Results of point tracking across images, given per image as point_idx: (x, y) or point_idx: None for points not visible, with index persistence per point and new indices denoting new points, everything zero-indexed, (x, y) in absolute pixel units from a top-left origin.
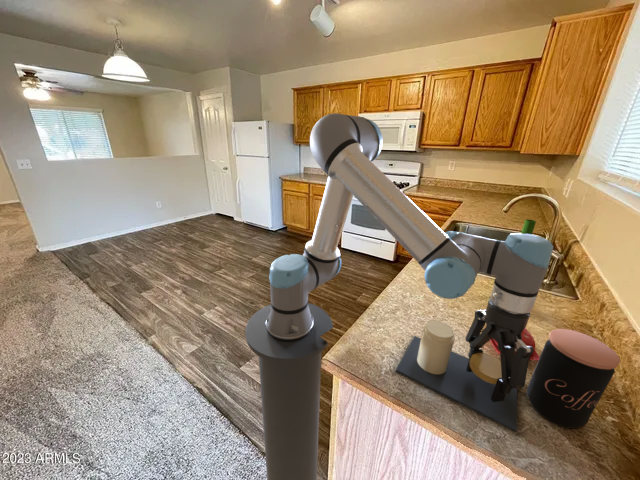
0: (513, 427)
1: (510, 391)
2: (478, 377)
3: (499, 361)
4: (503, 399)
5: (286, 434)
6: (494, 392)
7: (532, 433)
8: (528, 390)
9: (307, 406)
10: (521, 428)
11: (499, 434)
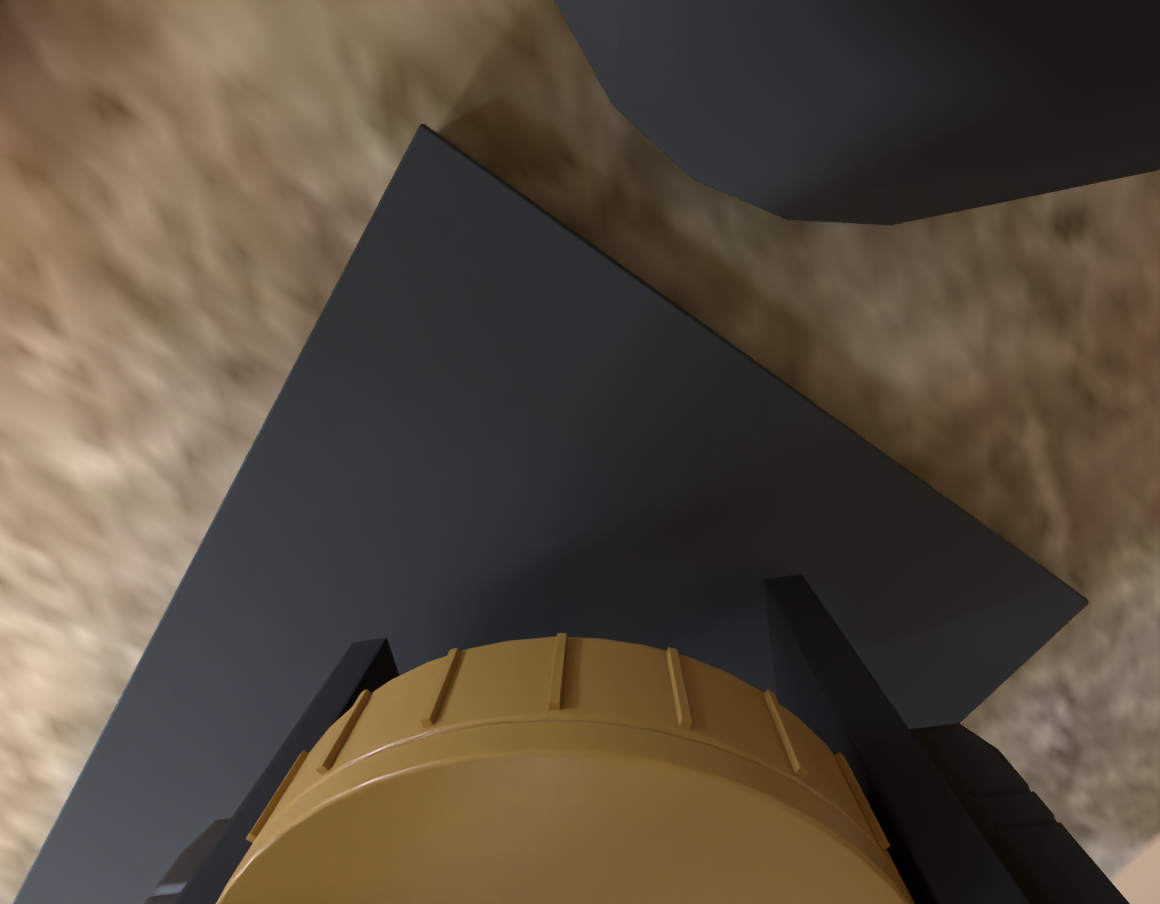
0: (1060, 616)
1: (1028, 787)
2: (459, 627)
3: (421, 817)
4: (808, 588)
5: None
6: None
7: (1108, 433)
8: (732, 176)
9: None
10: (1041, 508)
11: (1051, 728)
